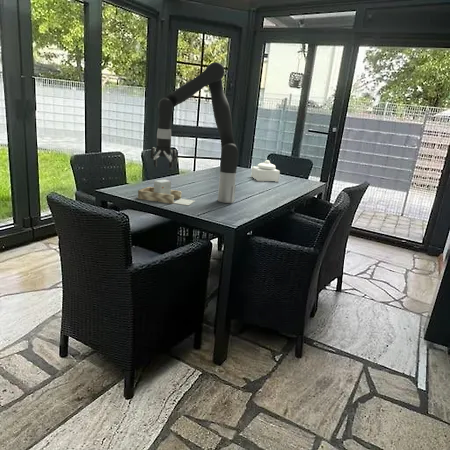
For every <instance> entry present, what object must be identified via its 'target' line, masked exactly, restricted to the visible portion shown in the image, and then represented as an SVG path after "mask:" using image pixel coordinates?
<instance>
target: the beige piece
mask: <svg viewBox="0 0 450 450" xmlns="http://www.w3.org/2000/svg"><path fill="white" fill-rule="evenodd" d="M182 193H183V192H182V191H181V190H176V189H171V195H169V194H162V193H155V192H154V186H146V187H144V188H141V189H139V190H138V191H137V199H138V200H144V201H146V200H147V201H152V202H157V201H158V203H165V204H174V202H175V200H179V199H182ZM174 199H175V200H174Z"/></svg>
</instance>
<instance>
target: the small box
mask: <svg viewBox="0 0 450 450" xmlns="http://www.w3.org/2000/svg"><path fill="white" fill-rule="evenodd" d="M153 187H154V192H155V193H162V194H169V195H171V190H172V181H171V180H168V179H165V178H164V179H157V180H153Z"/></svg>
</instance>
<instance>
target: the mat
mask: <svg viewBox="0 0 450 450" xmlns="http://www.w3.org/2000/svg"><path fill="white" fill-rule="evenodd" d="M194 203H196V200H191V199H186V198H181V199H176V200H174V203H173V204H174V205H180V206H181V205H182V206H188V207H189V206H191V205H193V204H194Z"/></svg>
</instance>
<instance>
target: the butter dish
mask: <svg viewBox="0 0 450 450" xmlns="http://www.w3.org/2000/svg"><path fill="white" fill-rule="evenodd" d="M250 172H251V174H250V178H252V177H253V178H254V179H253V178H252V179H253V180H255V179H256V180H257V181H256V180H255V181H256V182H264V181H275V182H274V183H279V181H280V175H281V174H280V173H281V171H280V170H279V169H276V165H275V164H273V163H271V160H269V159H265V161H264V162H260V163H258V164H256V166H251V171H250Z"/></svg>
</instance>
